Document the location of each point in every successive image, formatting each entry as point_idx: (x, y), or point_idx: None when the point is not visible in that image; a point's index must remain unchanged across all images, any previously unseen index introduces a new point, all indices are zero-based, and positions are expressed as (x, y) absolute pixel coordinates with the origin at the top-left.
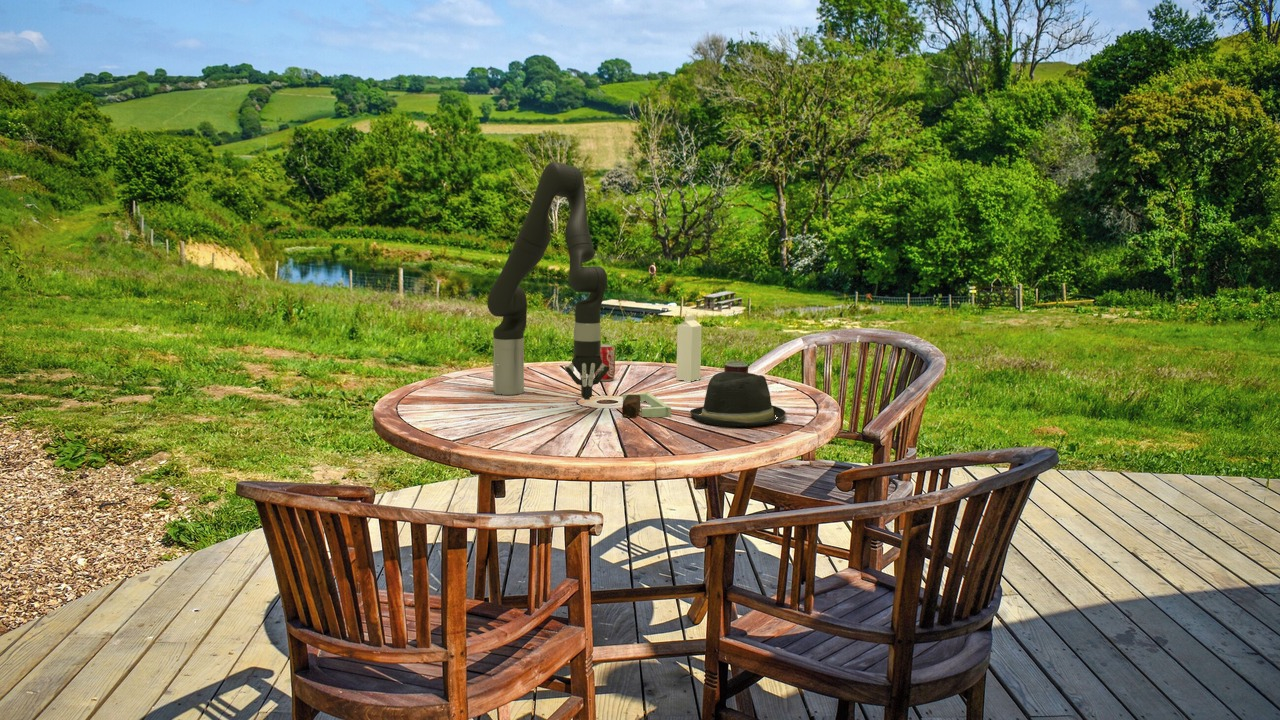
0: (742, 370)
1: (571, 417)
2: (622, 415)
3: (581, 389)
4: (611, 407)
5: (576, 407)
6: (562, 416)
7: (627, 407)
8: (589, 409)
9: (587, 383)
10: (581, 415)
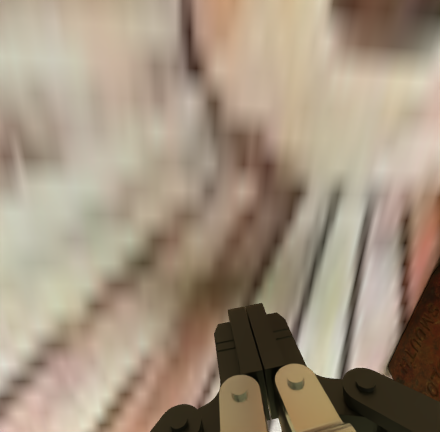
0: None
1: (157, 378)
2: (390, 371)
3: (219, 371)
4: (387, 171)
5: (181, 164)
6: (112, 363)
7: None
8: (256, 219)
9: (280, 413)
10: (206, 343)
